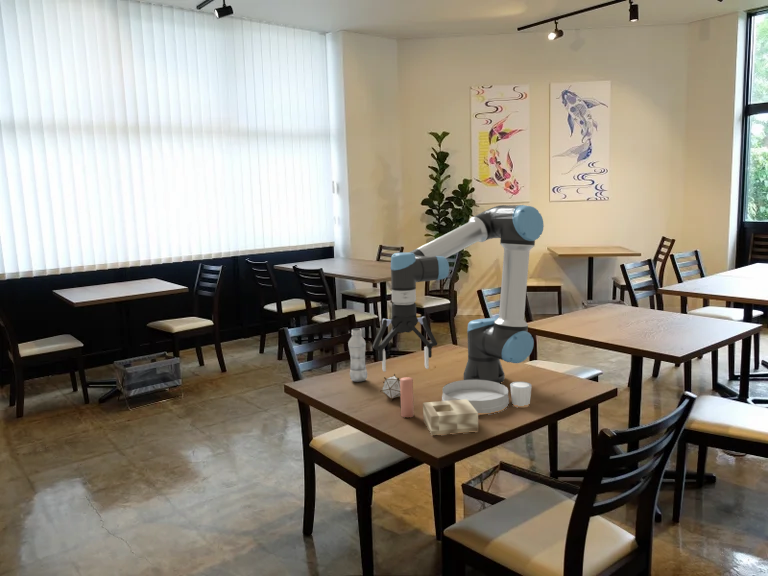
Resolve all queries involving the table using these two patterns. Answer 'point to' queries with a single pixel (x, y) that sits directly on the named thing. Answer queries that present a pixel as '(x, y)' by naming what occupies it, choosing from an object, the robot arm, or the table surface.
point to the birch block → (450, 416)
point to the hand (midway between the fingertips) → (405, 369)
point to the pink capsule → (406, 397)
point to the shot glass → (520, 393)
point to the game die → (391, 387)
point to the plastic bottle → (357, 356)
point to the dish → (478, 394)
